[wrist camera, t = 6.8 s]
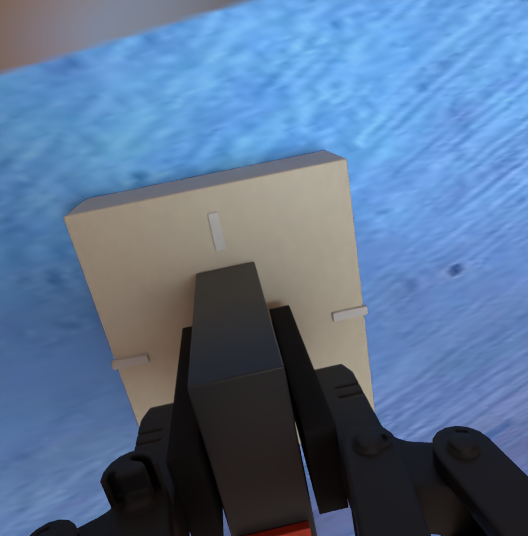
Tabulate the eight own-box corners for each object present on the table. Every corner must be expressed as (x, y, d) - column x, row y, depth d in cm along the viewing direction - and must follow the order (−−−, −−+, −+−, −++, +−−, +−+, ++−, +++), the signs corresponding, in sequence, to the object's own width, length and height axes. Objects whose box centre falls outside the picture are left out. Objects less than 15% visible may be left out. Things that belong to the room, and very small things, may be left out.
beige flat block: (82, 199, 18) (57, 218, 15) (328, 149, 18) (351, 158, 15) (161, 430, 22) (154, 481, 19) (358, 386, 23) (380, 428, 20)
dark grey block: (195, 273, 16) (186, 394, 10) (254, 260, 16) (286, 372, 10) (229, 404, 18) (241, 577, 12) (281, 392, 19) (322, 558, 12)
